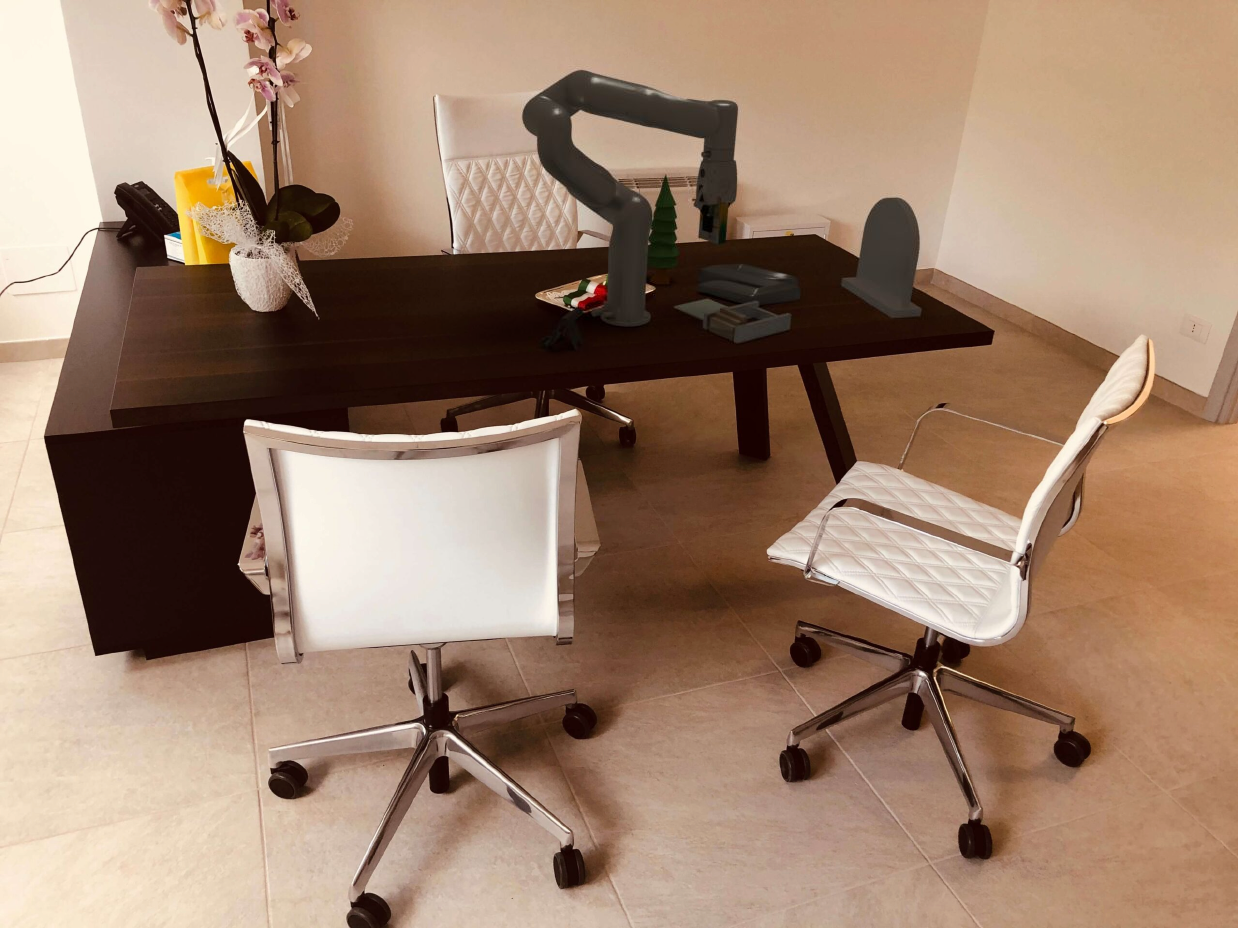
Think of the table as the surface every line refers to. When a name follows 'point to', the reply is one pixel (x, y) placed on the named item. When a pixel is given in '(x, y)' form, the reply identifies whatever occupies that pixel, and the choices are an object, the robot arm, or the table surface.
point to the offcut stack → (726, 322)
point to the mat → (699, 307)
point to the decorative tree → (663, 236)
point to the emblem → (748, 284)
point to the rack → (757, 329)
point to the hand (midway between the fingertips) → (712, 229)
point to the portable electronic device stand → (568, 325)
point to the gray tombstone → (888, 259)
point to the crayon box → (716, 224)
